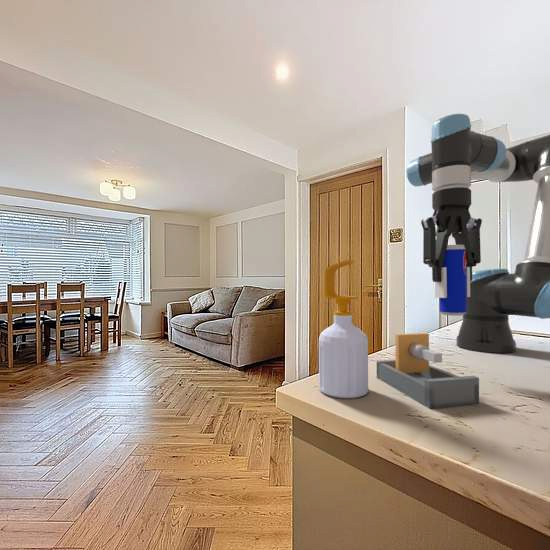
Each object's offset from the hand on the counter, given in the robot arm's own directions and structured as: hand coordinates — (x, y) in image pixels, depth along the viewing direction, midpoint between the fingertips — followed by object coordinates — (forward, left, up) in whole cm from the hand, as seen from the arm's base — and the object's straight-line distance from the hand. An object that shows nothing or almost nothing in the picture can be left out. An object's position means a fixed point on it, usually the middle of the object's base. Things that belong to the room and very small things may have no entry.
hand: (452, 296), depth 73 cm
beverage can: (0, 0, -4) cm, 4 cm away
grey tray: (+12, +7, -17) cm, 22 cm away
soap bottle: (+27, +4, -17) cm, 33 cm away
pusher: (+12, +7, -15) cm, 20 cm away
